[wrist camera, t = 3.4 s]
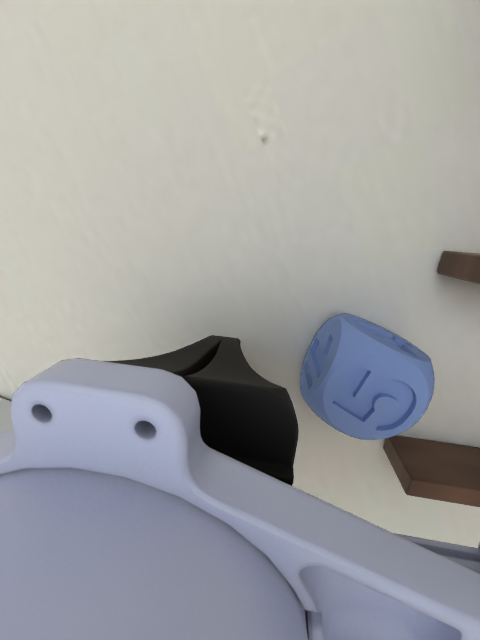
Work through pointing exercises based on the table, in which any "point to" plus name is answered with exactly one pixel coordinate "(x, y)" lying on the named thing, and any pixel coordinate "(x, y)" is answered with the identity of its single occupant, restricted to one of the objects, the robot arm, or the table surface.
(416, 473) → the walnut bay
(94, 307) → the table surface
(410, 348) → the decorative dice
